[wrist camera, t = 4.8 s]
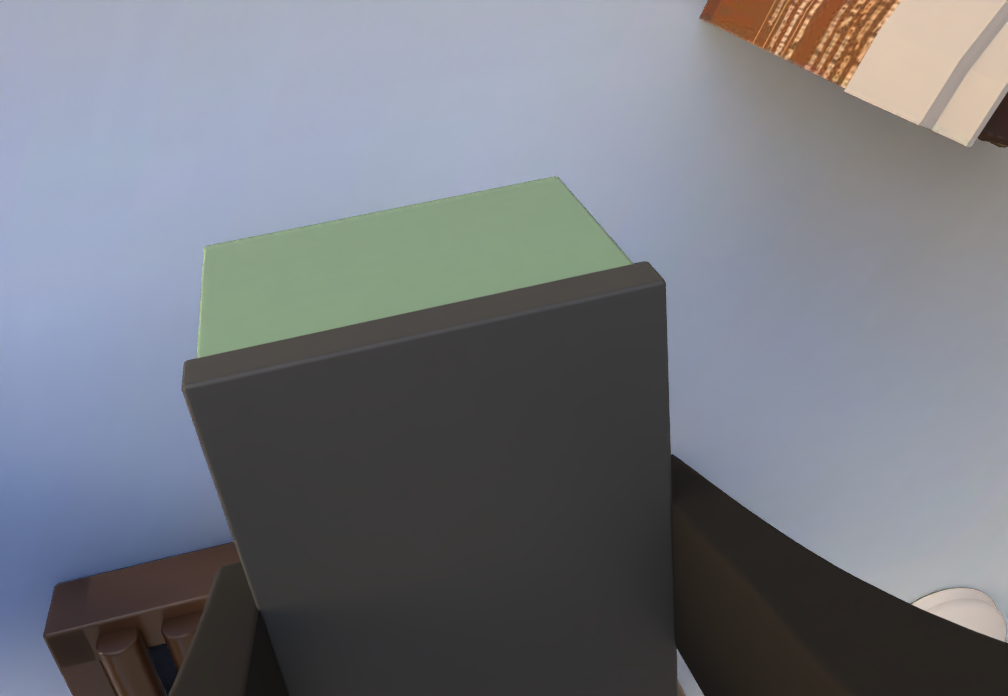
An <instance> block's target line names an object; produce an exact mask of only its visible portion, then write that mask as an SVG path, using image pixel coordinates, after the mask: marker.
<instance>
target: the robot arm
mask: <svg viewBox="0 0 1008 696" xmlns="http://www.w3.org/2000/svg"><path fill="white" fill-rule="evenodd" d="M671 483H672V504H671V505H672V539H673V572H674V606H675V639H676V647H677V649H678V651H679V652H680V654H681V656H682V658H683V659H684V661H685V663H686V665H687V666H688V668H689V670H690V671H691V673H692V675H693V677H694V678H695V680H696V682H697V684H698V685H699V687H700V689H701V690H702V692H703V694H704V696H1008V643H1006V642H1003V641H1000V640H998V639H995V638H992V637H989V636H987V635H984V634H981V633H979V632H976V631H973V630H971V629H968V628H966V627H963V626H961V625H958V624H956V623H954V622H951V621H949V620H946V619H944V618H942V617H939V616H937V615H934V614H932V613H929V612H927V611H925V610H922V609H920V608H918V607H916V606H914V605H911V604H909V603H907V602H905V601H903V600H901V599H898V598H896V597H894V596H892V595H890V594H888V593H886V592H884V591H882V590H880V589H878V588H877V587H875V586H873V585H871V584H869V583H867V582H865V581H863V580H861V579H859V578H857V577H855V576H853V575H851V574H849V573H848V572H846V571H844V570H842V569H840V568H838V567H837V566H835V565H833V564H832V563H830V562H828V561H827V560H825V559H823V558H821V557H820V556H818V555H816V554H815V553H813V552H811V551H810V550H808V549H806V548H805V547H803V546H802V545H800V544H799V543H797V542H795V541H794V540H792V539H791V538H789V537H788V536H786V535H785V534H783V533H782V532H780V531H779V530H777V529H776V528H774V527H773V526H771V525H770V524H768V523H767V522H765V521H764V520H762V519H761V518H760V517H758V516H757V515H755V514H754V513H752V512H751V511H749V510H748V509H747V508H745V507H744V506H742V505H741V504H740V503H738V502H737V501H735V500H734V499H733V498H731V497H730V496H729V495H727V494H726V493H724V492H723V491H722V490H720V489H719V488H718V487H716V486H715V485H714V484H712V483H711V482H710V481H708V480H707V479H706V478H704V477H703V476H702V475H700V474H699V473H698V472H696V471H695V470H694V469H692V468H691V467H689V466H688V465H687V464H685V463H684V462H683V461H681V460H680V459H679V458H677V457H676V456H674V455H673V454H672V455H671ZM168 696H288V693H287V690H286V687H285V684H284V681H283V678H282V676H281V673H280V670H279V667H278V664H277V661H276V658H275V655H274V652H273V649H272V646H271V644H270V641H269V638H268V635H267V632H266V629H265V626H264V623H263V620H262V617H261V614H260V611H259V610H258V609H257V607H256V604H255V601H254V598H253V595H252V592H251V589H250V586H249V584H248V581H247V578H246V575H245V572H244V569H243V566H242V563H241V562H238V563H234V564H230V565H226V566H222V567H221V568H220V569H219V570H218V572H217V573H216V574H215V577H214V580H213V583H212V587H211V590H210V593H209V596H208V599H207V601H206V604H205V607H204V610H203V613H202V615H201V618H200V621H199V624H198V626H197V629H196V631H195V634H194V636H193V639H192V641H191V644H190V646H189V649H188V651H187V653H186V656H185V658H184V660H183V663H182V665H181V667H180V670H179V672H178V674H177V676H176V679H175V681H174V683H173V686H172V688H171V690H170V692H169V694H168Z"/></svg>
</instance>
